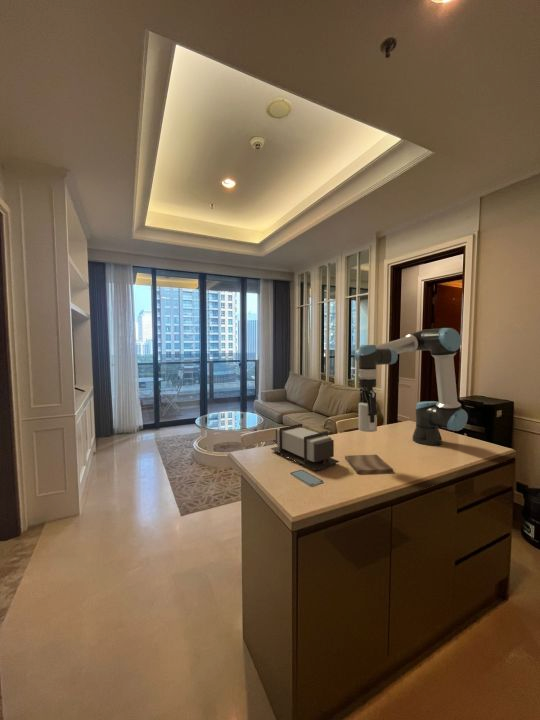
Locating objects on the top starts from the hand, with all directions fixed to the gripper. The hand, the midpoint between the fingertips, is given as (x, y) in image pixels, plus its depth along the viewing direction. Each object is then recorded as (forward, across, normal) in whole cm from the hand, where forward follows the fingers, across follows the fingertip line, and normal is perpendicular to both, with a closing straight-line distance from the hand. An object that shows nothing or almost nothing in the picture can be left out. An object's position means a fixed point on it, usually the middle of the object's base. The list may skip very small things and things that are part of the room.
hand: (367, 426), depth 142 cm
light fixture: (+19, -12, -29) cm, 36 cm away
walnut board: (+18, 0, 0) cm, 18 cm away
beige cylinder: (+1, 0, 0) cm, 1 cm away
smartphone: (+19, +11, -31) cm, 38 cm away
